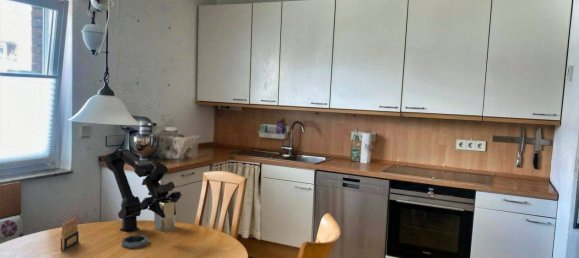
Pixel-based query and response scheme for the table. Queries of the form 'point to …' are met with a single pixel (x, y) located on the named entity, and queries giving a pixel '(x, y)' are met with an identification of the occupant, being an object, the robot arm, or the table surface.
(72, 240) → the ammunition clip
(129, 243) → the ring collar
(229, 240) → the table surface
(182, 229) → the table surface
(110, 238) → the table surface
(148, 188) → the robot arm
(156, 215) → the supplement box
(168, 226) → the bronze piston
